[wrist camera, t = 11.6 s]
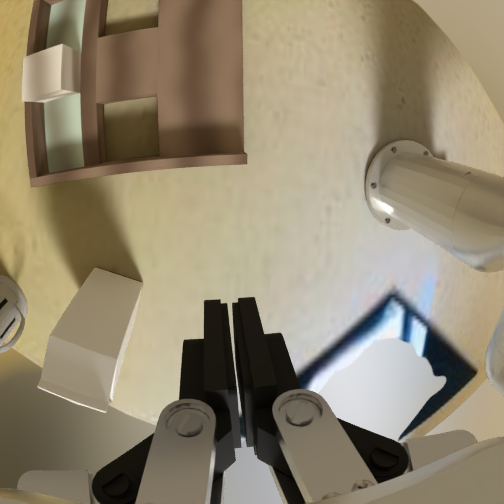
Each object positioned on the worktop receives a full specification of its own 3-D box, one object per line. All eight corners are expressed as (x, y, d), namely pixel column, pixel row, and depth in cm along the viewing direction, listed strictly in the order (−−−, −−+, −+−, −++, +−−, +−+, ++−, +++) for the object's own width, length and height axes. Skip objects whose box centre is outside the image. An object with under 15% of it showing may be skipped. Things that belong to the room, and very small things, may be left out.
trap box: (239, -24, 25) (244, -45, 20) (242, 158, 34) (247, 164, 29) (54, 6, 22) (35, -6, 17) (52, 178, 32) (31, 187, 27)
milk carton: (95, 266, 37) (33, 361, 20) (143, 282, 39) (108, 390, 21) (89, 308, 39) (41, 407, 22) (134, 323, 41) (105, 430, 24)
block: (81, 52, 24) (62, 43, 20) (80, 93, 26) (60, 89, 22) (45, 63, 24) (23, 57, 19) (44, 102, 26) (22, 101, 21)
